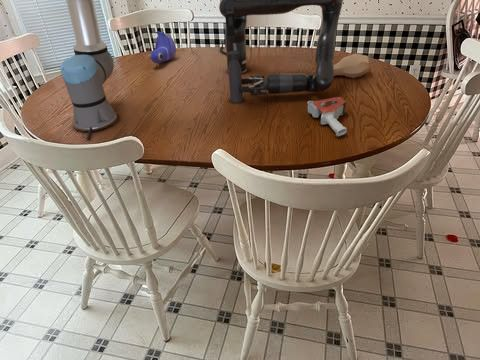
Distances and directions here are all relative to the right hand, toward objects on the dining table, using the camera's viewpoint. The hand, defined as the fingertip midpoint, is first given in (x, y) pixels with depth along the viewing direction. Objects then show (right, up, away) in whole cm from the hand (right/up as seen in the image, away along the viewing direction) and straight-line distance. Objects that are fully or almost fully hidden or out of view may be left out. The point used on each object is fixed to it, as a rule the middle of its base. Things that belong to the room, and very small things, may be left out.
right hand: (239, 85), depth 140 cm
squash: (+48, +9, +19) cm, 52 cm away
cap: (-2, +10, -7) cm, 13 cm away
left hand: (-3, +17, -12) cm, 21 cm away
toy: (-40, +24, +47) cm, 67 cm away
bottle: (-1, -5, +4) cm, 6 cm away
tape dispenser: (+31, -17, -15) cm, 39 cm away
